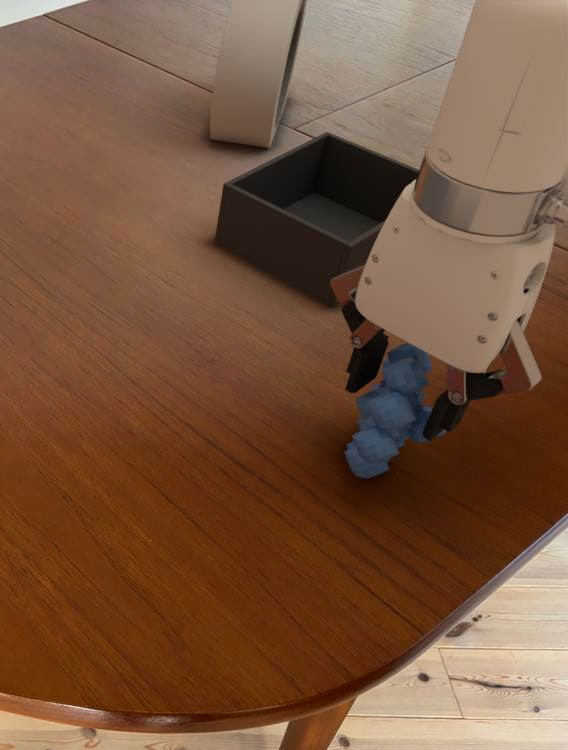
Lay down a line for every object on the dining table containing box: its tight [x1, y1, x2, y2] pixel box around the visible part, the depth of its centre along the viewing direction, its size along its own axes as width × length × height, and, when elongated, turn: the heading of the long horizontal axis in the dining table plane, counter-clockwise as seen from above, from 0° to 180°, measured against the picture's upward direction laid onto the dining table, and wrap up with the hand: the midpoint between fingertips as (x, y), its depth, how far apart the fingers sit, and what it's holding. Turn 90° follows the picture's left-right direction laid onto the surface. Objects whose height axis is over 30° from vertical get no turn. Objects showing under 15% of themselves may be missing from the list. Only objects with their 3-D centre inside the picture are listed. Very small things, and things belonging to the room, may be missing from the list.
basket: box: [214, 131, 420, 309], centre depth 89 cm, size 15×17×8 cm
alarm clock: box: [209, 0, 308, 149], centre depth 106 cm, size 21×8×20 cm, turn 160°
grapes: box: [344, 342, 447, 479], centre depth 64 cm, size 12×7×12 cm, turn 151°
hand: (398, 404), depth 64 cm, fingers closed on grapes, 5 cm apart
